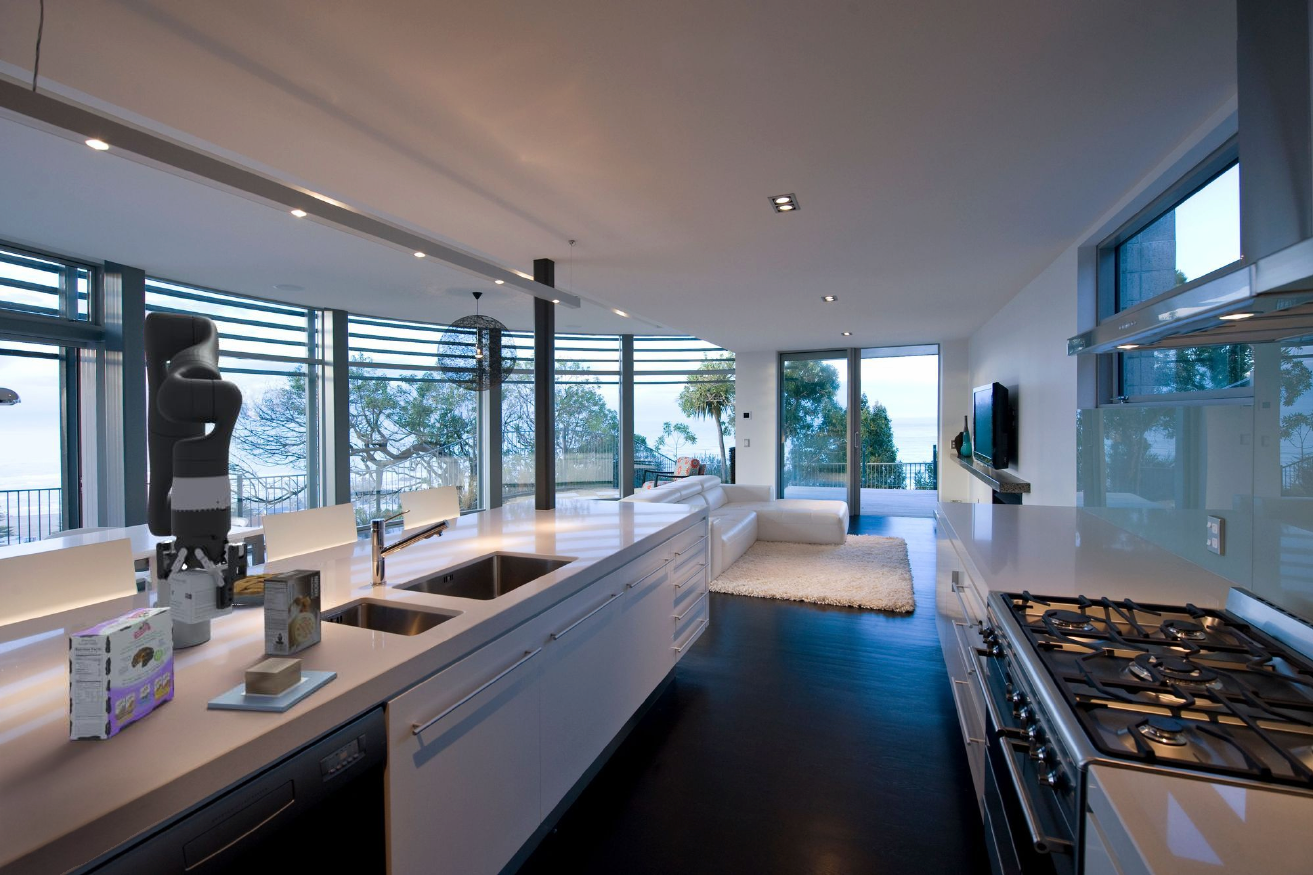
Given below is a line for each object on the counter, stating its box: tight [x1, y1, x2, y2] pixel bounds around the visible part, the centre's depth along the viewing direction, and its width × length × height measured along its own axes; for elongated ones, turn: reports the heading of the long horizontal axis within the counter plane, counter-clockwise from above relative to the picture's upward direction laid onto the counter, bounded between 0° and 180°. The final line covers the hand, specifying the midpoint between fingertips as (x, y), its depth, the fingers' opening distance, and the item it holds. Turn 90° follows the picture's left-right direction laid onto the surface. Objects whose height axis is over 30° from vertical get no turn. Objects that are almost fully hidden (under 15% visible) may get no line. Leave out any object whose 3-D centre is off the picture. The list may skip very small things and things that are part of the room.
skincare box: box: [170, 568, 233, 624], centre depth 92 cm, size 6×6×7 cm
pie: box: [232, 572, 284, 606], centre depth 164 cm, size 22×22×5 cm
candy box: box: [68, 607, 175, 741], centre depth 95 cm, size 14×6×16 cm, turn 5°
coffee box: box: [263, 568, 322, 656], centre depth 126 cm, size 9×6×16 cm
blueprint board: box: [206, 669, 338, 712], centre depth 105 cm, size 14×14×1 cm
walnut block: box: [244, 657, 302, 695], centre depth 105 cm, size 6×6×4 cm
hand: (202, 606), depth 92 cm, fingers closed on skincare box, 7 cm apart
